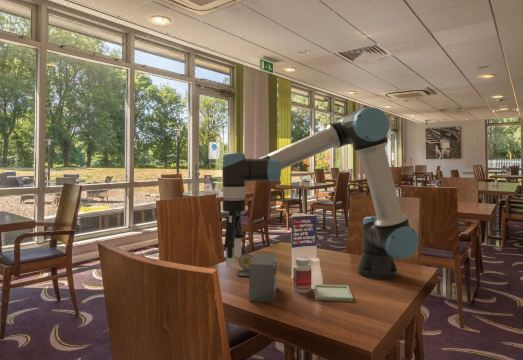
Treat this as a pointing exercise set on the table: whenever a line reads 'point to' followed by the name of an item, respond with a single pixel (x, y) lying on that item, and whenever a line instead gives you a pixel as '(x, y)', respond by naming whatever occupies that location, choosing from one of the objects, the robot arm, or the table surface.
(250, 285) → the block
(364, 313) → the table surface
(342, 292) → the pad
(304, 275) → the pill bottle
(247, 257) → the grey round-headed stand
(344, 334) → the table surface
